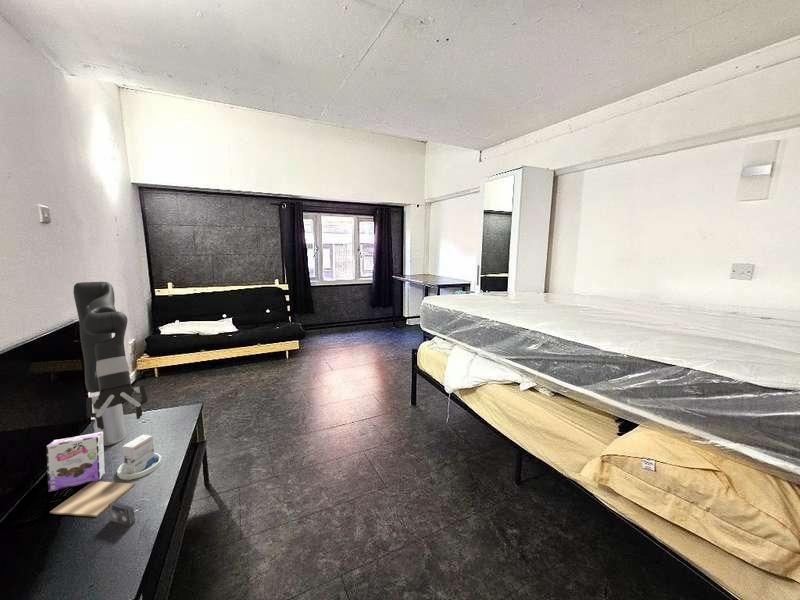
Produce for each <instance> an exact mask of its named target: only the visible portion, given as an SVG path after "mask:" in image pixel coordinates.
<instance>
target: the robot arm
mask: <svg viewBox="0 0 800 600" xmlns="http://www.w3.org/2000/svg"><path fill="white" fill-rule="evenodd" d="M73 285H74V286H73V298H74V302H75V303H74V304H75V307H76V313H77V317H78V323H79V336H80V343H81V344H80V346H81V350H82V355H83V361H84V384H85V389H86V392H88V393H91V394H94V393H99V395H96V396H91V397H90V396H88V397H86V399H85V402H86V403H85V404H86V416H87V418H93V419H94V422H93V430H94V431H93V432H94V433H98V432H103V444H104V446H105V447H106V446H111V445H115V444H117V443H119V442H122V441H123V440H125V438H126V435H127V434H126V427H125V425H126V424H125V417H124V411H123V410H124V409H123V404H126V403H127V402H128V403H129V404H132V405H133V406H135V407H134V410H135V417H136V420H140V419H141V417H142V416H143V412H142V411H143V410H142V407H143V405H144V404H147V403H148V397H147V392H146V388H145V385H144V384H142V385H139V386H136V387H133V386H132V382H131V381H132V380H131V376H130V366H129V363H128V360H127V355H126V351H125V335H126V331H127V326H128V316H127V315H126V314H125V313H124V312H122V311H120V310H119V311H117V309H116V307H115V302H116V299H115V291H114V287H113V285H112V283H110V282H108V281H89V282H88V281H83V282H77V283H75V284H73ZM112 334H114V336H113V335H112ZM134 392H136V393H137V394H138V393H139V394H140V399H141V400H140V401H137V400H136V399H135V398H133V397H132V395H133V393H134Z"/></svg>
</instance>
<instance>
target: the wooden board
mask: <svg viewBox="0 0 800 600" xmlns="http://www.w3.org/2000/svg"><path fill="white" fill-rule="evenodd" d="M134 486H136V485H135V483H132V482H128V483H127V482H117V481H116V482H113V481H102V480H97V481H93V482H89V484H88V483H87V485H86V486H84V487H83V488H81V489H80V490H78V491H77V492H76V493H74V494H73V495H72V496H69V498H67V499H65V500H64V501H63V502H61V503H60V504H58V505H57V506H56V507H54V508H52V510H50V511H49V514H50V515H51V514H54V515H67V516H68V515H70V516H81V517H82V516H83V517H92V518H93V517H95V518H96V517H98V516H99V515H101V514H102V512H104V511H105V510H107V508H108V509H109V506H108V504H110V503H111V502H116V501H117V500H119V499H120V498H122V496H124V495H125V494H126V493H127V492H128V491H129V490H131V489H132V488H134Z"/></svg>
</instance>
